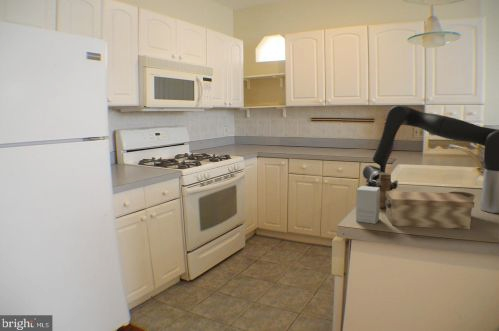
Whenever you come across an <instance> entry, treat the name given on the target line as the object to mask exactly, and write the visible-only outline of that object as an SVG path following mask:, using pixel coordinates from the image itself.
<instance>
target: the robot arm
mask: <svg viewBox="0 0 499 331" xmlns="http://www.w3.org/2000/svg"><path fill="white" fill-rule="evenodd" d="M401 126H410V127H414V128H419V129H422V130H424V131H426V132H427V133H430V134H431V135H435V136H437V137H439V138H443V139H447V140H453V141H457V142H465V143H466V142H467V143H474V144H477V145H480V146H484V152H483V154H484V155H483V164H484V167H483V178H482V179H483V180H482V188H481V197H480V198H481V200H480V211H484V212H487V213H492V214H499V129H497V128H491V127H486V126H485V127H484V126H481V125H478V124H474V123H471V122H468V121H465V120H462V119H459V118H455V117H451V116H447V115H441V114H437V113H436V114H435V113H429V112H424V111H420V110H418V109H415V108H411V107H409V106H407V105H394V106H392V107H391V108H390V109H389V110H388V113H387V115H386V120H385V124H384V126H383V127H384V128H383V132H382V134H381V138H380V140H379V143H378V144H377V148H376V149H375V152H374V154H373V157H372V162H374V164H377V165H379V167H377V166H374V165H371V164H370V165H369V164H368V165H366V166H365V167H364V168H363V169H362V170H363V171H362V177H363V178H364V179H365V186H368V187H379V188H380V190H381V185H380V184H379V173H386V167H387V164H388V161H389V159H390V156H391V154H392V151H393V150H394V149H393V148H394V142H395V138H396V135H397V133H398V131H399V130H400V128H401ZM398 185H399V181H398V180H394V181H391V184H390V191H393V190H396V189H397V188H398V187H399V186H398Z"/></svg>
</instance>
